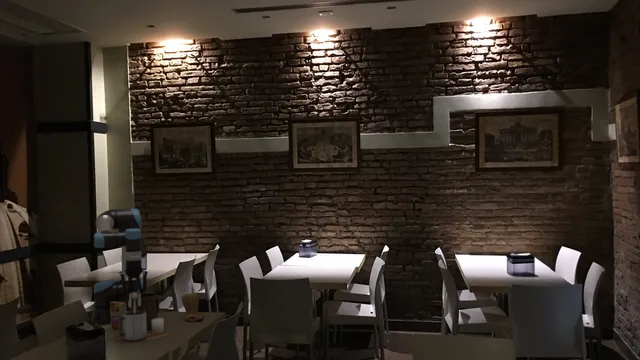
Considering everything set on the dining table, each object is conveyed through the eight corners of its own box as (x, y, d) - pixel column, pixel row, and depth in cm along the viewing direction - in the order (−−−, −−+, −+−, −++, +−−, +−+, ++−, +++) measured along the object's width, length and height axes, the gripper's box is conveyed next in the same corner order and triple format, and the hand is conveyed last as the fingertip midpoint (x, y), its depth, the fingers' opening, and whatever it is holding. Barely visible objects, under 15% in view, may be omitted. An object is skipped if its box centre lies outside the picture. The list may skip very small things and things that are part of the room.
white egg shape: (150, 332, 291) (150, 319, 291) (161, 330, 294) (161, 317, 294) (153, 335, 286) (153, 321, 286) (165, 333, 289) (165, 319, 289)
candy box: (110, 330, 302) (109, 302, 302) (117, 328, 306) (116, 300, 306) (120, 332, 297) (120, 304, 297) (127, 330, 301) (126, 302, 301)
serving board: (114, 340, 283) (114, 337, 283) (161, 332, 296) (161, 329, 296) (122, 348, 270) (122, 344, 270) (171, 339, 282) (171, 336, 282)
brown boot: (183, 316, 330) (182, 291, 330) (203, 315, 332) (203, 290, 332) (179, 322, 315) (179, 296, 315) (201, 321, 317) (200, 295, 317)
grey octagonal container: (117, 338, 280) (116, 312, 280) (143, 334, 287) (142, 309, 287) (122, 343, 271) (121, 317, 271) (149, 339, 278) (148, 313, 278)
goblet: (125, 332, 281) (124, 292, 281) (141, 330, 285) (140, 290, 285) (129, 336, 274) (128, 295, 274) (145, 333, 279) (144, 293, 278)
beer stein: (150, 334, 292) (151, 296, 293) (132, 333, 294) (132, 295, 295) (164, 328, 307) (165, 292, 308) (146, 328, 309) (147, 291, 310)
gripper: (117, 262, 272) (118, 310, 272) (152, 258, 281) (153, 305, 281) (114, 260, 278) (115, 307, 278) (148, 257, 287) (149, 302, 287)
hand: (134, 306), depth 280 cm, fingers closed on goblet, 4 cm apart
